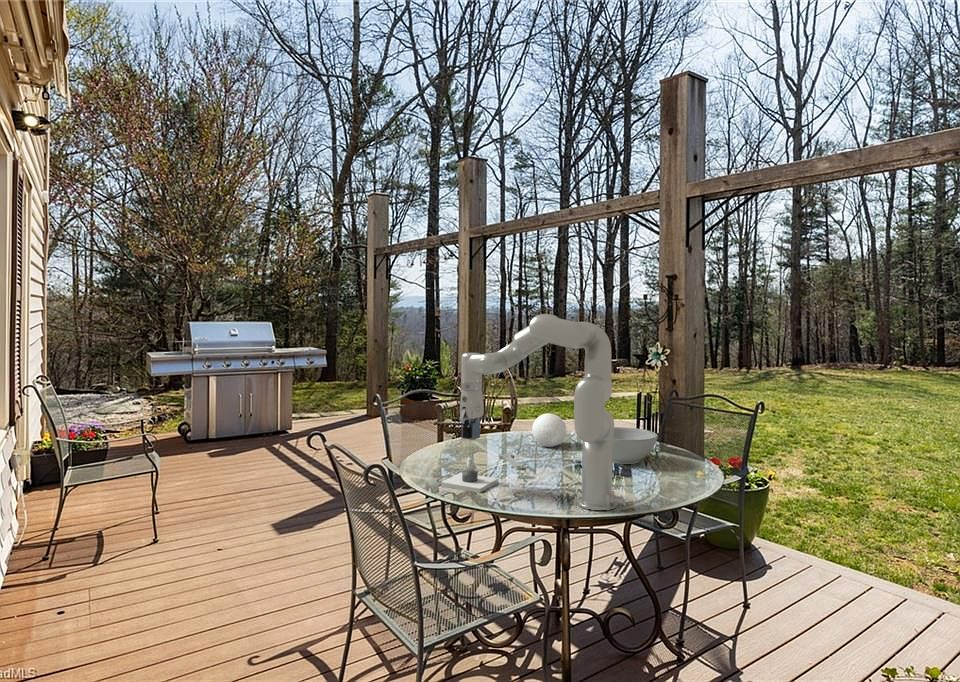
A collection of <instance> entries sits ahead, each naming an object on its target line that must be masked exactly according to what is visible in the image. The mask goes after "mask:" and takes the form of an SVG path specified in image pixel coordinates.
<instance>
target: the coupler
mask: <svg viewBox="0 0 960 682" xmlns="http://www.w3.org/2000/svg"><path fill="white" fill-rule="evenodd" d="M466 421H467V422H468V420H466ZM470 427H471V438H470V439H469V438H463V427H462V426H461V439H462V440H471V441H475V440H477V439H480V438H481V420H480V421H478V419H476V420H473V419H472V420H471V425H470Z"/></svg>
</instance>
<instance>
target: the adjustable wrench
mask: <svg viewBox="0 0 960 682" xmlns="http://www.w3.org/2000/svg"><path fill="white" fill-rule="evenodd" d="M497 457H498V459H502V460H506V461H507V462H508V463H509V464H510V465H511V466H512V467H513V468H514V469H515V470H517V471H523V465H521V464H520V463H519V462H517V460H515V459H514V458H513V453H512V452H508V451H505V452H504V454H503V453H502V452H499V453H498V455H497Z"/></svg>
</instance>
